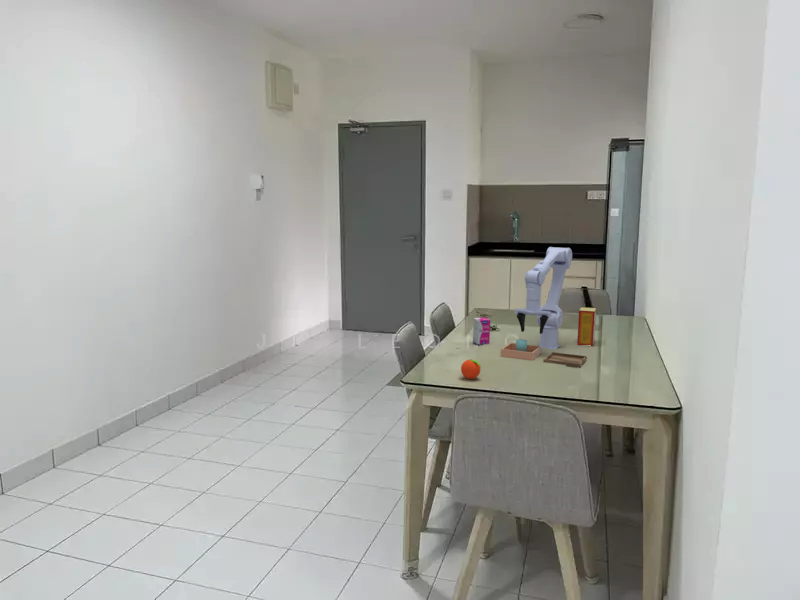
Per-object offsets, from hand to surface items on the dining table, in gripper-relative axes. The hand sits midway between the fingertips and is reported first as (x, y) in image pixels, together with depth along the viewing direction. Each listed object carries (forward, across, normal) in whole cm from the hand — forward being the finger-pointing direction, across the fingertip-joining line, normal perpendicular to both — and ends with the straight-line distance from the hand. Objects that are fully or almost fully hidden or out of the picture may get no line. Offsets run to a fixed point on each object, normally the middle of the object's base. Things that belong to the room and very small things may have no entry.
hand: (531, 332), depth 251 cm
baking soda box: (+9, +16, +33) cm, 38 cm away
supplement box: (+10, -25, +9) cm, 28 cm away
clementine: (+11, -9, -45) cm, 47 cm away
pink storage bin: (+10, -3, -4) cm, 11 cm away
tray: (+10, +15, -4) cm, 18 cm away
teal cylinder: (+9, -3, -4) cm, 10 cm away
